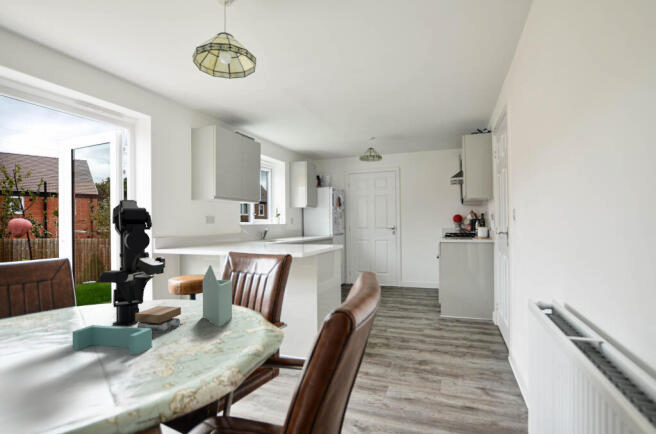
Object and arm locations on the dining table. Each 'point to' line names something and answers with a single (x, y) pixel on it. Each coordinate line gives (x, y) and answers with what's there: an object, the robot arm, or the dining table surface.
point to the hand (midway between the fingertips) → (134, 301)
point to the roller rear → (174, 322)
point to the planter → (216, 299)
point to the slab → (157, 314)
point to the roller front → (155, 326)
